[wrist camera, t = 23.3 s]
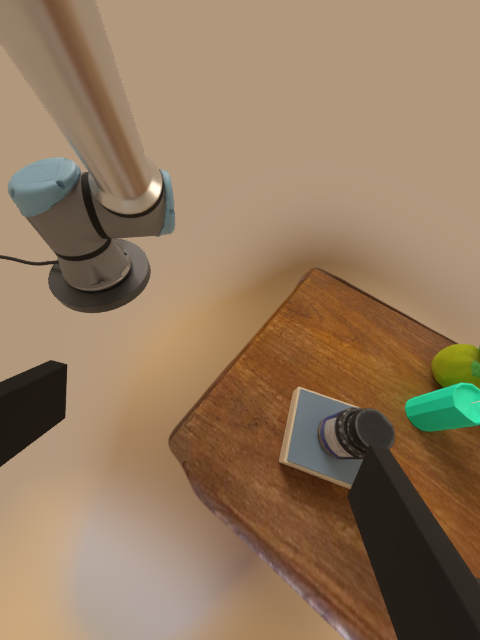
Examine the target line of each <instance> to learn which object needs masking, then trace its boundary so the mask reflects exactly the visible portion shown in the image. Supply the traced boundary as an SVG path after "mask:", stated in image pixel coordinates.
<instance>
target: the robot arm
mask: <svg viewBox="0 0 480 640" xmlns="http://www.w3.org/2000/svg"><path fill="white" fill-rule="evenodd" d="M0 44H1V45H2V47H3V48H4V50H5V51H6V53H7V54H8V55H9V57H10V58H11V60H12V61H13V63H14V64H15V66H16V67H17V69H18V70H19V71H20V73H21V74H22V76H23V77H24V79H25V80H26V82H27V83H28V84H29V86H30V87H31V89H32V90H33V92H34V93H35V95H36V96H37V97H38V99H39V100H40V101H41V103H42V105H43V106H44V107H45V109H46V110H47V112H48V113H49V115H50V116H51V118H52V119H53V121H54V122H55V123H56V125H57V126H58V128H59V129H60V131H61V132H62V133H63V135H64V136H65V138H66V139H67V141H68V142H69V144H70V145H71V147H72V148H73V150H74V151H75V152H76V154H77V155H78V157H79V158H80V160H81V161H82V163H83V164H84V165H85V167H86V168H87V170H88V171H89V172H81V171H80V168H79V167H78V166H77V165H76V164H75V163H74V162H73V161H72V160H69V159H66V158H48V159H43V160H39V161H37V162H34V163H31V164H29V165H27V166H26V167H23V168H22V169H20V170H19V171H18V172H16V173H15V174H14V175H13V176H12V178H11V179H10V181H9V184H8V192H9V195H10V197H11V198H12V199H13V201H14V203H15V204H16V205H17V207H18V208H19V210H20V212H21V214H22V215H23V216H25V217H26V218H27V220H28V221H29V222H30V223H31V225H32V226H33V227H34V228H35V230H36V231H37V232H38V233H39V234H40V236H41V237H42V238H43V239H44V240H45V242H46V243H47V244H48V245H49V247H50V248H51V249H52V250H53V251H54V253H55V254H56V255H57V257H58V261H46V262H29V261H25V260H21V259H17V258H13V257H8V256H1V255H0V258H2V259H7V260H13V261H17V262H20V263H24V264H30V265H48V264H60V267H61V270H62V274H63V277H64V279H65V280H66V281H67V283H68V284H69V285H70V286H71V287H72V288H74V289H75V290H77V291H80V292H83V293H102V292H106V291H109V290H111V289H114V288H116V287H117V286H119V285H120V284H122V283H123V282H124V281H125V280H126V279H127V278H128V277H129V275H130V273H131V271H132V261H131V258H130V256H129V254H128V252H127V251H126V250H125V249H124V248H123V247H122V246H121V245H120V244H119V243H118V242H117V241H116V240H115V239H114V238H128V237H142V236H161V235H166V234H171V233H172V232H173V231H174V229H175V213H174V200H173V191H172V183H171V178H170V175H169V173H168V172H167V171H165V170H161V169H158V167H157V165H156V164H155V162H154V161H153V160H152V159H151V158H150V157H149V156H147V155H146V154H145V153H144V150H143V146H142V143H141V140H140V137H139V134H138V131H137V128H136V124H135V121H134V118H133V115H132V112H131V109H130V106H129V102H128V99H127V96H126V93H125V90H124V87H123V84H122V80H121V77H120V74H119V71H118V68H117V65H116V62H115V58H114V55H113V52H112V49H111V46H110V43H109V40H108V36H107V33H106V30H105V27H104V24H103V21H102V18H101V14H100V11H99V8H98V5H97V2H96V0H0ZM66 380H67V364H64V363H60V362H56V361H52V360H50V361H48V362H45V363H43V364H41V365H39V366H36V367H34V368H32V369H29V370H27V371H25V372H23V373H20V374H18V375H16V376H13V377H11V378H9V379H6V380H4V381H2V382H0V467H1V466H2V465H3V464H5V463H6V462H7V461H9V460H10V459H11V458H13V457H14V456H15V455H16V454H18V453H19V452H21V451H22V450H23V449H25V448H26V447H27V446H28V445H30V444H31V443H32V442H34V441H35V440H37V439H38V438H39V437H40V436H42V435H43V434H44V433H46V432H47V431H48V430H50V429H51V428H53V427H54V426H55V425H57V424H58V423H59V422H61V421H62V420H63V419H64V418H65V410H66V383H67V381H66ZM347 497H348V500H349V503H350V505H351V508H352V511H353V514H354V517H355V520H356V522H357V525H358V528H359V531H360V534H361V537H362V539H363V542H364V545H365V548H366V551H367V553H368V556H369V559H370V562H371V565H372V568H373V570H374V573H375V576H376V579H377V582H378V584H379V587H380V590H381V593H382V596H383V599H384V601H385V604H386V607H387V610H388V613H389V615H390V618H391V621H392V624H393V627H394V630H395V632H396V635H397V638H398V640H480V579H479V578H475V577H474V575H473V574H472V572H471V571H470V569H469V568H468V566H467V565H466V563H465V562H464V560H463V559H462V557H461V556H460V554H459V553H458V551H457V550H456V548H455V547H454V546H453V544H452V543H451V541H450V540H449V538H448V537H447V535H446V534H445V532H444V531H443V529H442V528H441V526H440V525H439V523H438V522H437V520H436V519H435V517H434V516H433V514H432V513H431V511H430V510H429V508H428V507H427V505H426V504H425V502H424V501H423V499H422V498H421V496H420V495H419V494H418V492H417V491H416V489H415V488H414V486H413V485H412V483H411V482H410V480H409V479H408V477H407V476H406V474H405V473H404V471H403V470H402V468H401V467H400V465H399V464H398V462H397V461H396V459H395V458H394V456H393V455H392V453H391V452H390V450H389V449H386V448H382V447H378V446H374V445H369V447H368V449H367V452H366V454H365V456H364V459H363V461H362V463H361V466H360V468H359V470H358V472H357V475H356V477H355V479H354V482H353V484H352V486H351V489H350V491H349V493H348V496H347Z"/></svg>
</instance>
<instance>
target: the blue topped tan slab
mask: <svg viewBox="0 0 480 640" xmlns="http://www.w3.org/2000/svg"><path fill="white" fill-rule="evenodd" d="M351 407H356V406H354V405H351V404H348V403H345V402H342V401H339V400H336V399H333V398H330V397H327V396H325V395H322V394H319V393H316V392H313V391H310V390H307V389H304V388H301V387H298V388H296V389H295V390H294V391H293V394H292V399H291V404H290V409H289V414H288V418H287V423H286V428H285V433H284V438H283V443H282V448H281V453H280V457H279V462H280V463H282V464H285V465H287V466H290V467H293V468H295V469H298V470H300V471H303V472H306V473H308V474H311V475H314V476H316V477H319V478H321V479H324V480H327V481H329V482H332V483H334V484H337V485H340V486H342V487H345V488H347V489H351V486H352V484H353V482H354V479H355V477H356V475H357V472H358V470H359V468H360V466H361V463H362V461H363V459H337V458H334V457H332V456H330V455H329V454H327V453H326V452H325V451H324V449H323V448H322V446H321V445H320V443H319V439H318V426H319V424H320V422H321V421H322V420H323V419H324V418H326V417H328V416H330V415H333V414H335V413H338V412H340V411H343V410H345V409H348V408H351ZM357 408H359V407H357Z"/></svg>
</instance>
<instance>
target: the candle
mask: <svg viewBox="0 0 480 640" xmlns="http://www.w3.org/2000/svg"><path fill="white" fill-rule="evenodd" d="M405 410H406V414H407V417H408V418H409V420H410V421H411V422H412V424H413V425H414V426H416V427H417V428H419V429H420V430H422V431H429V432H432V431H440V430H448V429H456V428H463V427H471V426H479V425H480V389H479V388H477V387H476V386H474V385H473V384H470V383H459V384H455V385H452V386H449V387H446V388H443V389H439V390H436V391H433V392H430V393H427V394H423V395H420V396H417V397H414V398H412V399H410V400H408V401H407V403H406V406H405Z"/></svg>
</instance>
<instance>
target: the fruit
mask: <svg viewBox="0 0 480 640" xmlns="http://www.w3.org/2000/svg"><path fill="white" fill-rule="evenodd" d="M431 370H432V373H433V375H434V378H435V381H436V382H437V383H439V384H440V385H441V386H442V387H443V388H446V387H449V386H452V385H455V384H459V383H470V384H473V385H474V386H476V387H477V388H479V389H480V348H479V349H478V348H477V347H475V346H472V345H469V344H457V345H452V346H449V347H446V348H444V349H443V350H441V351H440V352H439V353H438V354H437V355H436V356H435V357H434V358H433V360H432V363H431Z"/></svg>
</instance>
